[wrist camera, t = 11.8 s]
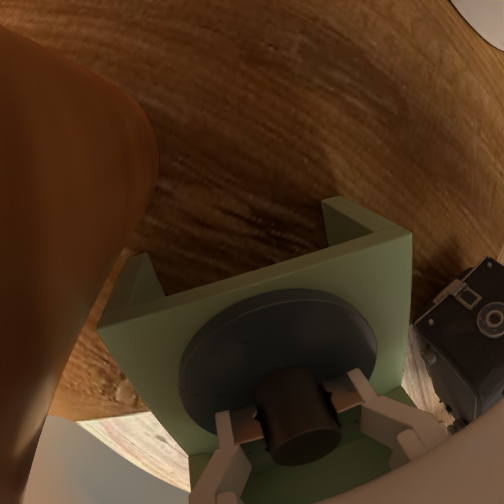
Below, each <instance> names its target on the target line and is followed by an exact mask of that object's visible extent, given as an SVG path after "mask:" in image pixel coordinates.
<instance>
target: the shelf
mask: <svg viewBox="0 0 504 504" xmlns="http://www.w3.org/2000/svg"><path fill="white" fill-rule="evenodd" d="M321 204H322V210H323V216H324V222H325V229H326V235H327V242H328V248H325V249H322V250H319V251H315V252H312V253H309V254H306V255H303V256H299V257H296V258H293V259H290V260H286V261H283V262H280V263H277V264H273V265H270V266H267V267H264V268H260V269H257V270H254V271H250V272H247V273H244V274H240V275H237V276H234V277H230V278H227V279H224V280H220V281H217V282H214V283H210V284H207V285H204V286H200V287H197V288H193V289H190V290H187V291H183V292H180V293H176V294H173V295H169V296H165V294H164V292H163V290H162V287H161V285H160V282H159V280H158V278H157V275H156V273H155V270H154V268H153V266H152V263H151V261H150V258H149V256H148V253H147V252H145V253H141V254H138V255H135V256H132V257H129V258H127V260H126V262H125V264H124V267H123V269H122V271H121V273H120V275H119V277H118V279H117V281H116V283H115V286H114V288H113V290H112V292H111V294H110V297H109V299H108V301H107V303H106V306H105V308H104V310H103V313H102V315H101V318H100V320H99V322H98V325H97V327H96V330H97V332H98V334H99V336H100V337H101V339H102V341H103V342H104V344H105V345H106V347H107V349H108V350H109V352H110V353H111V355H112V357H113V358H114V360H115V361H116V363H117V364H118V366H119V367H120V369H121V370H122V372H123V373H124V375H125V376H126V378H127V379H128V381H129V382H130V383H131V385H132V386H133V388H134V389H135V390H136V392H137V393H138V395H139V396H140V397H141V399H142V400H143V401H144V403H145V404H146V405H147V407H148V408H149V409H150V411H151V412H152V413H153V414H154V416H155V417H156V418H157V419H158V421H159V422H160V423H161V424H162V426H163V427H164V428H165V429H166V430H167V432H168V433H169V434H170V435H171V436H172V438H173V439H174V440H175V441H176V442H177V443H178V445H179V446H180V447H181V448H182V449H183V450H184V451H185V452H186V454H187V455H188V456H189V457H188V459H189V473H190V485H191V491H192V490H193V488H194V486H195V485H196V483H197V481H198V480H199V478H200V476H201V474H202V473H203V471H204V469H205V467H206V466H207V464H208V462H209V460H210V459H211V457H212V455H213V453H214V452H215V450H216V449H219V442H218V436H216V435H213V434H211V433H209V432H207V431H205V430H204V429H202V428H201V427H199V426H198V425H197V424H196V423H195V422H194V421H193V420H192V419H191V418H190V417H189V416H188V414H187V413H186V412H185V410H184V408H183V406H182V404H181V400H180V397H179V389H178V373H179V365H180V361H181V358H182V355H183V353H184V351H185V349H186V347H187V345H188V343H189V342H190V341H191V339H192V338H193V337H194V335H195V334H196V333H197V332H198V331H199V330H200V329H201V328H202V327H203V326H204V324H206V323H207V322H208V321H209V320H211V319H212V318H213V317H214V316H216V315H217V314H218V313H220V312H222V311H223V310H225V309H226V308H228V307H230V306H232V305H234V304H236V303H238V302H240V301H242V300H244V299H247V298H250V297H253V296H256V295H259V294H262V293H267V292H271V291H275V290H283V289H302V288H305V289H314V290H320V291H324V292H328V293H332V294H334V295H336V296H339V297H341V298H343V299H344V300H346V301H348V302H349V303H351V304H352V305H353V306H354V307H355V308H356V309H357V310H358V311H359V312H360V313H361V314H362V316H363V317H364V318H365V319H366V320H367V322H368V323H369V325H370V326H371V327H372V330H373V332H374V334H375V338H376V342H377V359H376V364H375V367H374V371H373V373H372V375H371V378H370V380H369V381H368V382H369V383H370V385H371V386H372V388H373V389H374V391H375V392H376V394H377V395H378V396H380V395H383V396H385V397H388V398H390V399H393V400H396V401H398V402H401V403H403V404H406V405H409V406H411V407H414V408H417V406H416V405H415V404H414V402H413V401H412V400H411V398H410V397H409V396H408V394H407V393H406V392H405V390H404V389H403V387H401V383H402V377H403V371H404V364H405V356H406V348H407V340H408V330H409V319H410V305H411V286H412V233H411V232H410V231H408V230H406V229H405V228H403V227H401V226H399V225H397V224H396V223H394V222H392V221H390V220H388V219H386V218H384V217H382V216H380V215H379V214H377V213H375V212H373V211H371V210H369V209H367V208H365V207H363V206H361V205H359V204H357V203H354V202H352V201H350V200H348V199H346V198H344V197H342V196H336V197H332V198H328V199H324V200H321ZM417 409H418V408H417ZM392 452H393V449H391V448H389V447H387V446H386V445H384V444H382V443H380V442H378V441H376V440H375V439H373V438H371V437H369V436H368V435H366V434H364V433H362V432H361V431H360V430H358V431H355V432H353V433H350V434H348V435H345V436H342V440H341V442H340V444H339V445H338V446H337V448H336V449H334V450H333V451H332V452H331V453H329V454H328V455H326V456H325V457H323V458H321V459H319V460H316V461H314V462H311V463H308V464H304V465H299V466H282V465H278V464H276V463H275V462H274V461H273V460H270V461H266V462H263V463H259V464H256V465H252V469H251V472H250V474H249V477H248V479H247V482H246V484H245V487H244V489H243V492H242V494H241V497H240V499H241V500H242V501H243V502H244V503H245V504H311V503H315V502H318V501H321V500H324V499H327V498H329V497H332V496H335V495H338V494H340V493H343V492H346V491H348V490H351V489H353V488H356V487H358V486H360V485H363V484H365V483H367V482H370V481H372V480H374V479H376V478H378V477H381V476H383V475H385V474H387V473H389V472H391V469H390V467H389V465H388V464H389V461H390V458H391V455H392Z"/></svg>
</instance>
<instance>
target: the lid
mask: <svg viewBox="0 0 504 504" xmlns="http://www.w3.org/2000/svg"><path fill="white" fill-rule="evenodd" d="M376 359H377V342H376V338H375V334H374V332H373V330H372V327H371V326H370V325H369V323H368V322H367V320H366V319H365V318H364V317H363V316H362V314H361V313H360V312H359V311H358V310H357V309H356V308H355V307H354V306H353V305H352V304H351V303H349V302H348V301H346V300H344V299H343V298H341V297H339V296H336V295H334V294H332V293H328V292H324V291H320V290H314V289H305V288H302V289H283V290H275V291H271V292H267V293H262V294H259V295H256V296H253V297H250V298H247V299H244V300H242V301H240V302H238V303H236V304H234V305H232V306H230V307H228V308H226V309H225V310H223V311H222V312H220V313H218V314H217V315H216V316H214V317H213V318H212V319H211V320H209V321H208V322H207V323H206V324H204V326H203V327H202V328H201V329H200V330H199V331H198V332H197V333H196V334H195V335H194V337H193V338H192V339H191V341H190V342H189V343H188V345H187V347H186V349H185V351H184V353H183V355H182V358H181V361H180V365H179V373H178V389H179V397H180V400H181V404H182V406H183V408H184V410H185V412H186V413H187V414H188V416H189V417H190V418H191V419H192V420H193V421H194V422H195V423H196V424H197V425H198V426H199V427H201V428H202V429H204V430H205V431H207V432H209V433H211V434H213V435H216V436H218V434H217V427H216V419H215V415H216V413H217V412H222V411H226V410H230V409H235V408H239V407H243V406H248V405H252V404H256V405H257V408H258V411H259V415H260V418H261V422H262V426H263V430H264V433H265V437H266V441H267V444H268V448H269V451H270V455H271V458H272V460H273V461H274V462H275V463H276V464H278V465H282V466H299V465H304V464H308V463H311V462H314V461H316V460H319V459H321V458H323V457H325V456H326V455H328V454H329V453H331V452H332V451H333V450H334V449H336V448H337V446H338V445H339V444H340V442H341V440H342V432H341V430H340V428H339V426H338V424H337V422H336V420H335V418H334V416H333V414H332V412H331V410H330V408H329V406H328V404H327V402H326V400H325V398H324V396H323V392H322V390H321V388H320V382H322V381H325V380H327V379H330V378H333V377H335V376H338V375H340V374H342V373H346V372H348V371H351V370H353V369H355V368H359V369H360V370H361V372H362V373H363V375H364V376H365V378H366V379H367V380H368V381H369V380H370V378H371V375H372V373H373V371H374V367H375V364H376Z"/></svg>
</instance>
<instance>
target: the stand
mask: <svg viewBox="0 0 504 504" xmlns="http://www.w3.org/2000/svg"><path fill="white" fill-rule="evenodd" d="M158 174H159V147H158V143H157V138H156V134H155V131H154V128H153V126H152V123H151V121H150V120H149V118H148V116H147V114H146V112H145V111H144V110H143V108H142V107H141V105H140V104H139V103H138V102H137V101H136V100H135V99H134V98H133V97H132V96H130V95H129V94H128V93H126V92H125V91H124V90H122V89H120V88H119V87H117V86H115V85H114V84H112V83H110V82H108V81H107V80H105V79H103V78H102V77H100V76H98V75H96V74H95V73H93V72H91V71H89V70H88V69H86V68H84V67H82V66H80V65H79V64H77V63H75V62H73V61H71V60H69V59H68V58H66V57H64V56H62V55H60V54H58V53H56V52H55V51H53V50H51V49H49V48H47V47H45V46H43V45H41V44H39V43H37V42H35V41H33V40H31V39H29V38H27V37H25V36H23V35H21V34H19V33H17V32H15V31H12V30H10V29H8V28H6V27H4V26H2V25H0V504H23V500H24V495H25V491H26V486H27V482H28V478H29V474H30V470H31V466H32V462H33V458H34V455H35V451H36V448H37V445H38V441H39V438H40V435H41V432H42V428H43V425H44V422H45V419H46V416H47V413H48V411H49V408H50V405H51V402H52V399H53V397H54V394H55V391H56V389H57V386H58V384H59V381H60V379H61V376H62V374H63V371H64V369H65V366H66V364H67V361H68V359H69V357H70V354H71V352H72V350H73V347H74V345H75V343H76V341H77V338H78V336H79V334H80V332H81V330H82V328H83V325H84V323H85V321H86V319H87V317H88V315H89V313H90V311H91V309H92V307H93V305H94V303H95V301H96V299H97V297H98V295H99V293H100V291H101V289H102V287H103V285H104V283H105V281H106V279H107V278H108V276H109V274H110V272H111V270H112V268H113V267H114V265H115V263H116V261H117V259H118V257H119V256H120V254H121V252H122V250H123V249H124V247H125V245H126V243H127V242H128V240H129V238H130V237H131V235H132V233H133V232H134V230H135V228H136V227H137V225H138V223H139V222H140V220H141V218H142V217H143V215H144V213H145V212H146V210H147V208H148V206H149V205H150V202H151V200H152V197H153V195H154V192H155V189H156V185H157V181H158Z"/></svg>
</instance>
